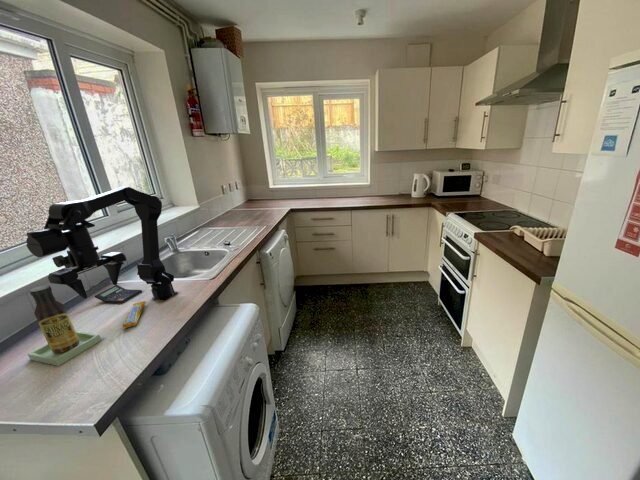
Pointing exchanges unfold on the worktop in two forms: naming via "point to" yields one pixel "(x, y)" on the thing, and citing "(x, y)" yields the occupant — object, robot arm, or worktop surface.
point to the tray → (49, 357)
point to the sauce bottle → (54, 320)
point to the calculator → (117, 294)
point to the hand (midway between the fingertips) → (100, 291)
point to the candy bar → (134, 314)
